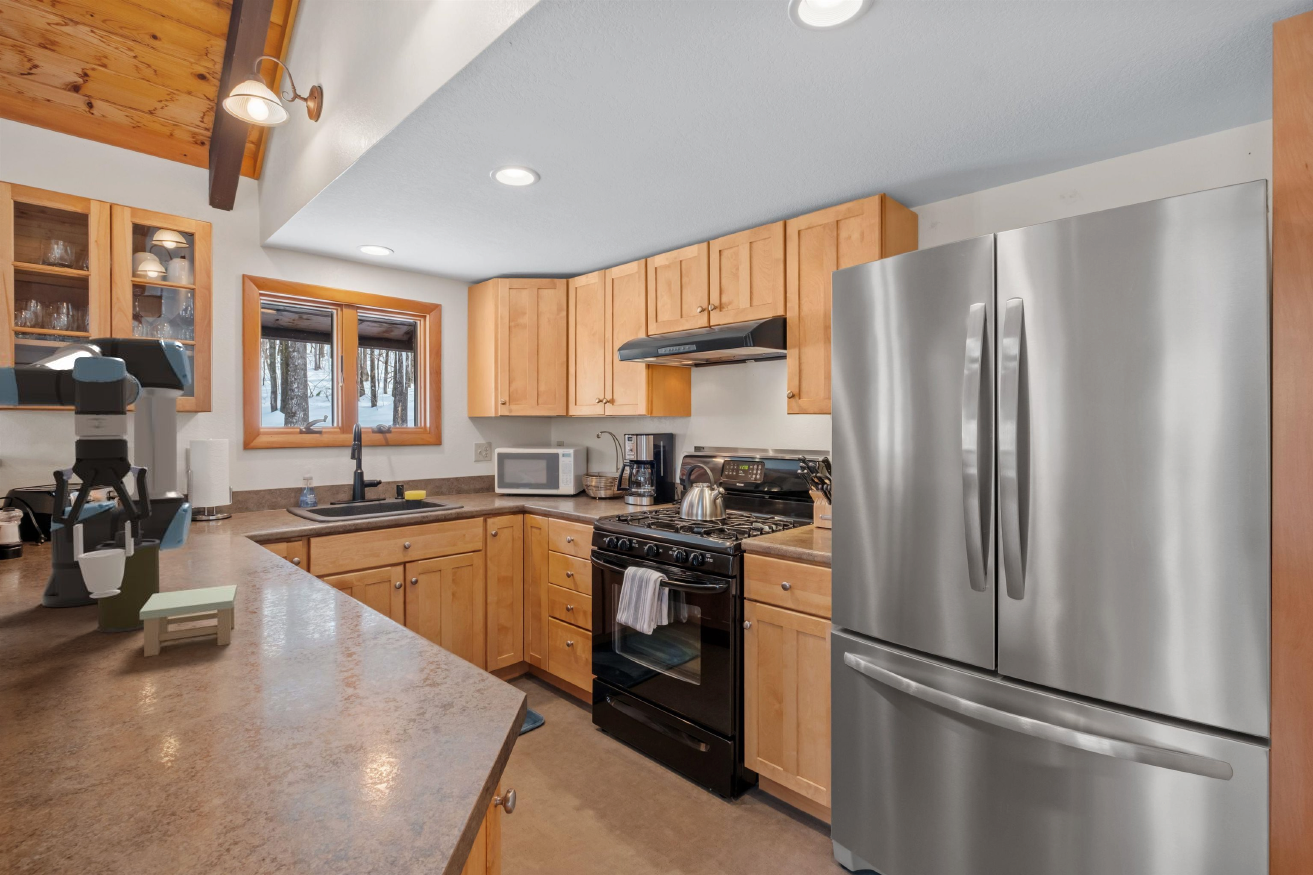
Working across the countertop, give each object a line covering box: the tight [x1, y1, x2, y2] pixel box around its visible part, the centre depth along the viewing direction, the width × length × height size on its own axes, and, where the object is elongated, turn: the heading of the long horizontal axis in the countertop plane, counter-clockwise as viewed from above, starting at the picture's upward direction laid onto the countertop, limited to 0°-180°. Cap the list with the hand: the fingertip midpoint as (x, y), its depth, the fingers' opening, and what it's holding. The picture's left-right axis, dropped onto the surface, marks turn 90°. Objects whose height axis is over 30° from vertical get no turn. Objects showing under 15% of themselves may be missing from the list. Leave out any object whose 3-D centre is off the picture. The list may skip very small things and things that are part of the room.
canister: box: [95, 531, 160, 634], centre depth 132 cm, size 11×10×20 cm
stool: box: [140, 584, 238, 658], centre depth 123 cm, size 14×14×8 cm
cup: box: [78, 549, 126, 598], centre depth 120 cm, size 7×10×8 cm
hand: (104, 556), depth 120 cm, fingers closed on cup, 7 cm apart
